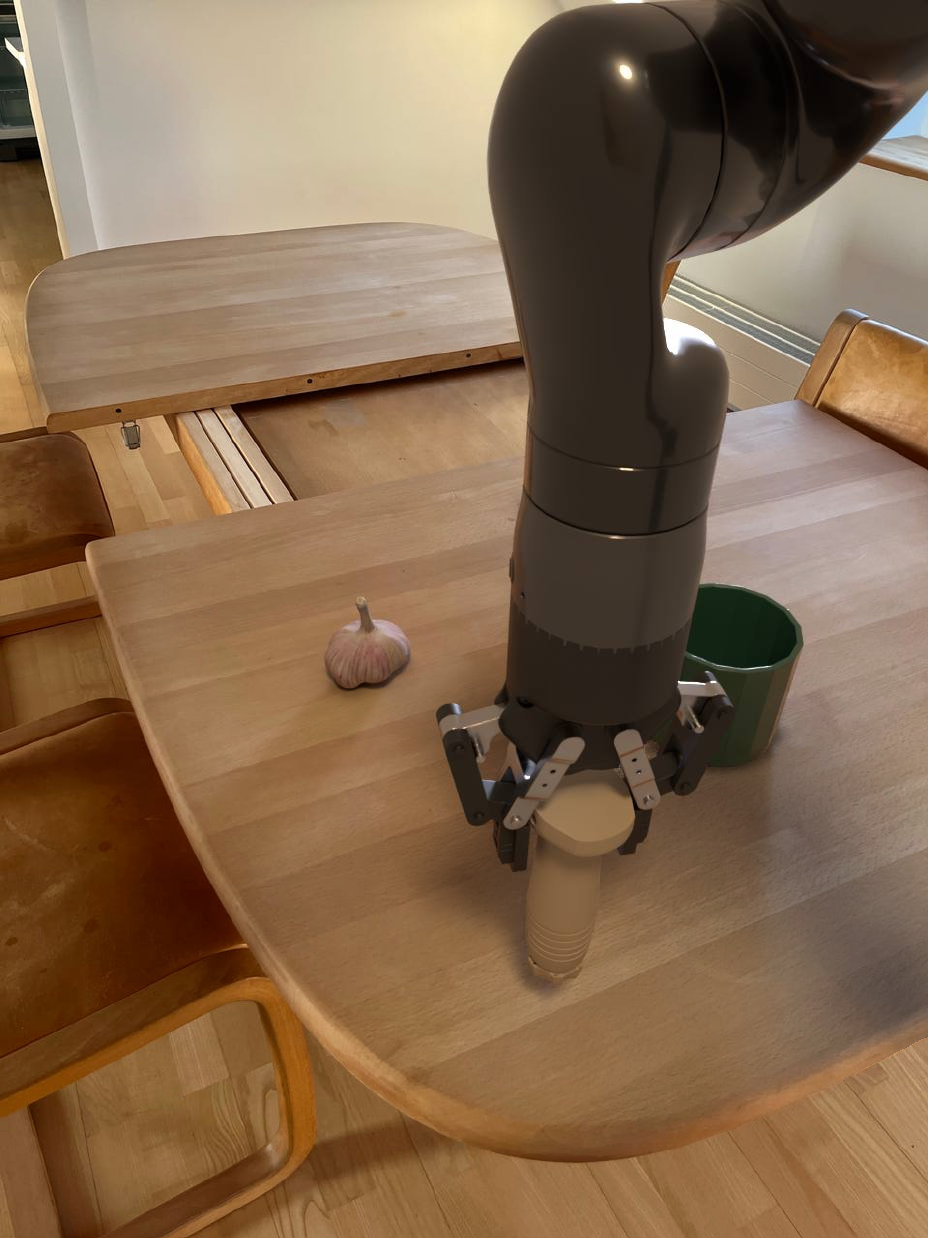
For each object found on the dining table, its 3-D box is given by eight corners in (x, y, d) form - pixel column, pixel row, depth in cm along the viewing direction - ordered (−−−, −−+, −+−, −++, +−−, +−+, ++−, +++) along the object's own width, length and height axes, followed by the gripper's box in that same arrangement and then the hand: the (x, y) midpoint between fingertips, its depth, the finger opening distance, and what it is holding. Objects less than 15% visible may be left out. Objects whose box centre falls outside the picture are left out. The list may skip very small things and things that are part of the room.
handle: (561, 905, 58) (583, 732, 49) (619, 991, 54) (655, 819, 44) (492, 935, 56) (501, 762, 47) (546, 1027, 52) (568, 855, 43)
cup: (797, 757, 75) (829, 663, 69) (667, 775, 73) (689, 680, 67) (739, 668, 83) (763, 577, 77) (621, 682, 82) (637, 590, 75)
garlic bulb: (330, 703, 79) (323, 629, 74) (321, 648, 84) (314, 576, 79) (418, 691, 80) (418, 618, 75) (403, 638, 86) (402, 566, 81)
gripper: (446, 663, 34) (445, 935, 45) (808, 620, 36) (727, 888, 47) (414, 551, 40) (420, 814, 50) (728, 520, 42) (672, 778, 53)
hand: (568, 849), depth 49 cm, fingers closed on handle, 5 cm apart
